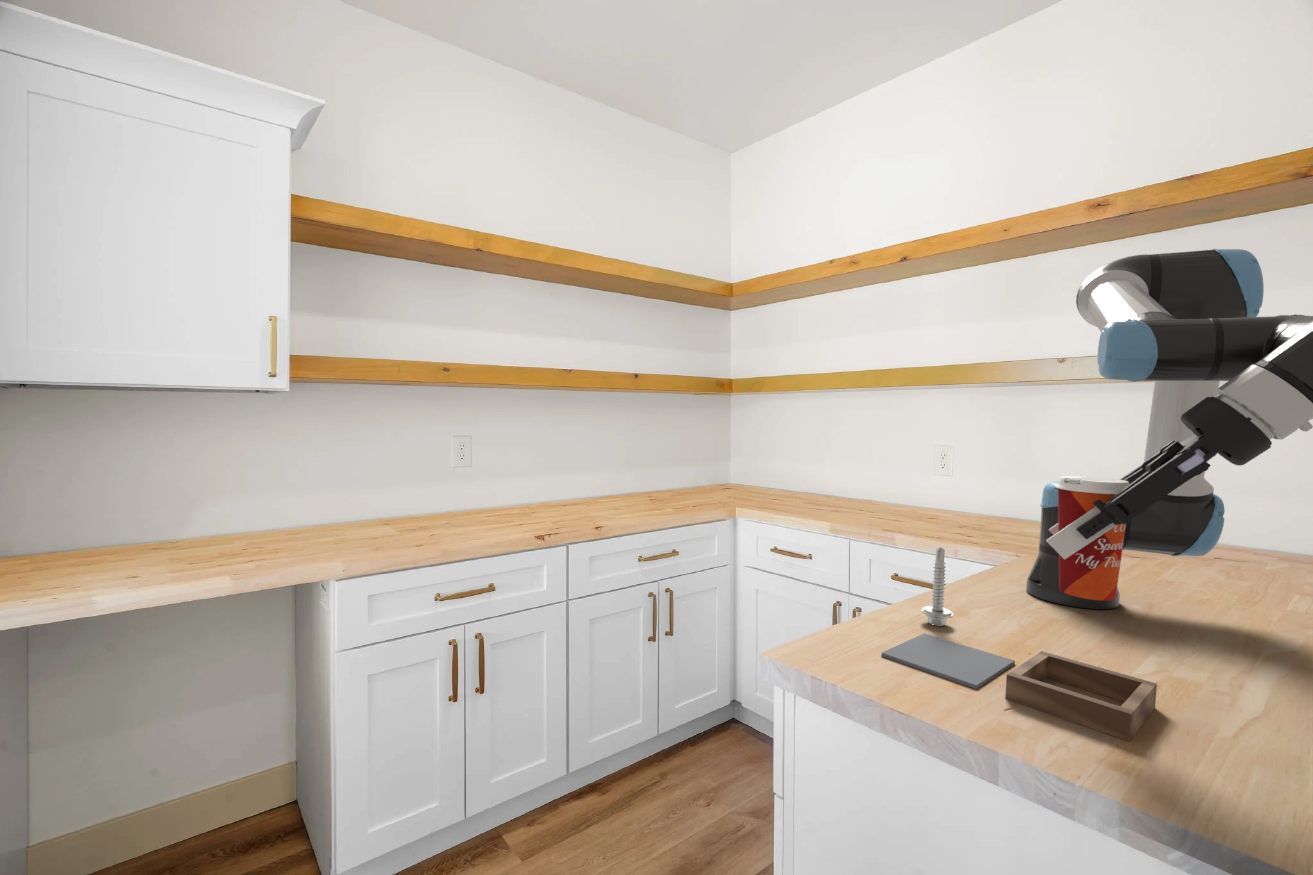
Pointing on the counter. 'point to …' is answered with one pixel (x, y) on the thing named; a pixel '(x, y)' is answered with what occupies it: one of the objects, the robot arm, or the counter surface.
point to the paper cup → (1099, 560)
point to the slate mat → (949, 660)
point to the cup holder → (1080, 708)
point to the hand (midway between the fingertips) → (1056, 543)
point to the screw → (938, 593)
